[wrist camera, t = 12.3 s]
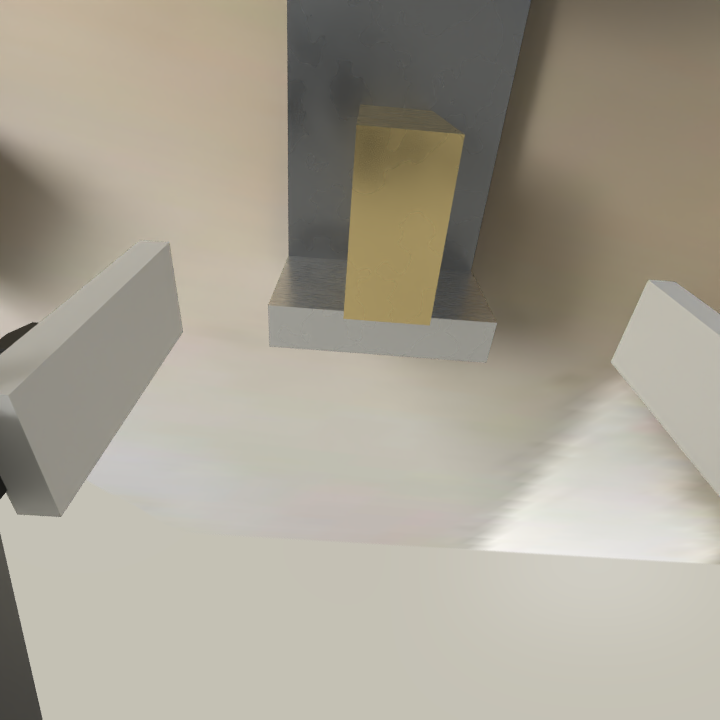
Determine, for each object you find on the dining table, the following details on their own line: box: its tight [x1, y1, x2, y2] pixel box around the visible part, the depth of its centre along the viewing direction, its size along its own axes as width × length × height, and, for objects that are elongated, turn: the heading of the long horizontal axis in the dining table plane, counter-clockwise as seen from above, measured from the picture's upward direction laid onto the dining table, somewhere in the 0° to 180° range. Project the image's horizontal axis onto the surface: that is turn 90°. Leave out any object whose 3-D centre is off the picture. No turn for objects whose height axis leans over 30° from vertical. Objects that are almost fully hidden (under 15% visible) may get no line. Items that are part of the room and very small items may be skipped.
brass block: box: [343, 104, 465, 325], centre depth 23 cm, size 8×4×10 cm, turn 175°
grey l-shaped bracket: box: [268, 0, 531, 363], centre depth 22 cm, size 26×12×9 cm, turn 175°
